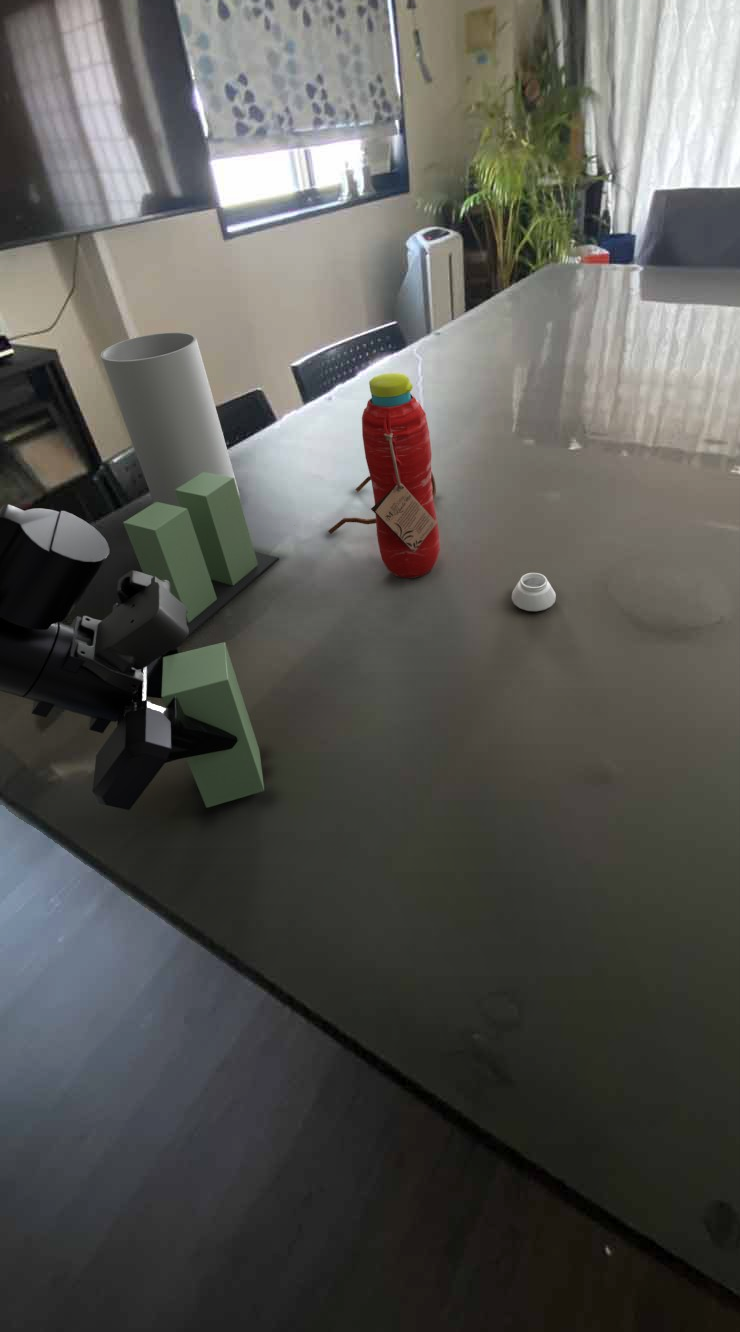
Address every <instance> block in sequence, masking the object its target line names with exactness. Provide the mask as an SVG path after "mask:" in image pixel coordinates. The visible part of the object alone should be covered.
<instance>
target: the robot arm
mask: <svg viewBox="0 0 740 1332" xmlns="http://www.w3.org/2000/svg"><path fill="white" fill-rule="evenodd" d="M110 552H111V551H110V547H109V543H108V542H107V540H106V538H105V537H104V536H103V535H102V534H101V533H100V531H99V530H97V529H96V528H95V527H94V526H93V525H91V524H90V523H89V522H87V521H85V520H84V519H82V518H80V517H78V516H76V515H74V514H73V513H70V512H68V511H66V510H60V511H57V510H54V509H49V508H41V507H40V508H35V507H34V508H29V509H26V510H23V509H21V508H18V507H16V506H14V505H12V504H10V503H5V504H3V505H2V507H1V508H0V692H3V693H7V694H9V695H14V696H16V697H20V698H23V699H26V700H29V701H33V705H32V709H31V714H32V715H35V716H39V717H42V718H47V717H48V716H49V714H50V713H51V711H52V710H53V708H57V709H60V710H61V709H62V710H65V711H69V712H72V713H75V714H78V715H81V716H85V717H89V718H90V719H89V720H90V721H89V729H88V730H89V731H93V732H97V733H100V734H103V733H104V732H105V731H106V730H107V728H108V726H109V725H110V724H111V722H112V723H113V722H114V723H116V727H115V728H114V730H113V731H112V732H111V734H110V735H109V737H107V739H106V741H104V743H103V745H102V746H101V747H100V749H99V751H98V752H97V754H96V755H95V763H94V764H95V765H94V774H93V784H92V793H93V795H94V797H95V798H96V800H97V802H98V804H100V805H103V806H108V807H111V808H117V809H121V810H127V811H130V810H131V809H132V807H133V806H134V805H135V803H136V802H137V801H138V800H139V798H140V797H141V796H142V794H144V791H145V790H146V789H147V788H148V786H149V785H150V783H151V782H152V781H153V780H154V779H155V777H156V776H157V774H158V773H159V772H160V770H162V768H163V766H164V765H165V764H167V763H171V762H174V761H178V760H182V759H186V758H187V757H192V756H197V755H203V754H208V753H213V752H218V751H224V750H229V749H232V748H233V747H234V746H235V744H236V743H237V741H238V739H237V737H236V736H234V735H232V734H230V733H229V732H227V731H225V730H222V729H220V728H217V727H215V726H212V725H210V724H207V723H205V722H202V721H200V720H197V719H195V718H192V717H189V716H187V715H185V714H184V712H183V710H182V708H181V705H180V703H179V701H178V699H177V697H176V696H174V698H173V699H172V700H171V702H170V703H169V704H168V706H167V707H165V706H162V705H158V704H155V703H152V702H151V701H150V700H148V698H153V699H154V698H155V699H161V700H162V697H161V692H162V669H163V657H166V656H170V655H174V654H178V653H182V652H183V650H182V648H181V646H182V645H183V644H184V643H185V641H186V640H187V639H188V638H189V637H188V634H189V628H188V626H187V621H186V614H187V613H188V609H187V607H186V606H185V605H183V604H182V603H181V602H180V601H179V600H178V599H177V598H176V597H174V596H173V595H172V594H171V587H170V582H169V581H167V580H159V579H158V578H157V577H156V576H154V577H153V576H150V575H147V574H144V573H143V572H140V571H137V570H133V569H131V570H130V571H128V572H127V573H125V574H124V575H123V576H121V577H120V578H118V580H117V587H116V588H117V589H116V593H117V596H118V599H119V602H120V603H118V602H116V603H115V604H113V605H112V612H111V613H110V614H109V615H107V616H105V617H104V619H101V620H100V619H96V618H93V617H91V616H88V615H83V616H82V617H81V616H78V615H76V617H75V618H74V619H73V621H72V623H71V624H70V625H68V624H65V623H62V622H64V621H66V619H68V617H69V616H70V615H71V613H72V612H73V610H74V608H75V607H76V605H77V604H78V602H79V600H80V599H81V598H82V596H83V595H84V593H85V591H86V590H87V588H88V587H89V585H90V584H91V583H92V581H93V579H94V578H95V576H96V575H97V573H98V572H99V570H100V568H101V567H102V566H103V564H104V562H105V561H106V560H107V558H108V557H109V555H110Z"/></svg>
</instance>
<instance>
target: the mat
mask: <svg viewBox="0 0 740 1332" xmlns="http://www.w3.org/2000/svg"><path fill="white" fill-rule="evenodd" d="M254 552H255V556H256V560H257V563H258V565H257V566H256V567H255V568H254V569H253V570H251V571H250V572H249V573H248V574H247V575H245V576H244V577H243V578H242V579H241V580H239V581H238V582H237V583H236V584H235V585H229V584H226V583H222V582H218V581H215V580H211V582H212V585H213V588H214V591H215V594H216V597H217V600H215V601H214V602H213V603H212V604H211V605H209V606H208V607H207V608H206V609H205V610H203V611H202V612H201V613H200V614H199V615H197V616H196V617H195V618H194V619H193V620H192V621H190V622H189V623H188V622H187V626H188V628H189V634H188V637H187V638H189V637H190V636H191V635H192V634H193V633H195V632H196V631H197V630H198V629H199V628H200V627H201V626H203V625H204V624H205V623H206V622H207V621H208V620H210V619H211V618H212V617H213V616H214V615H216V614H217V613H218V612H219V611H220V610H222V609H223V608H224V607H225V606H226V605H227V604H229V603H230V602H231V601H232V600H233V599H234V598H236V596H238V595H239V594H240V593H242V591H244V590H245V589H246V588H247V587H248V586H250V585H251V584H252V583H253V582H254V581H256V579H258V578H259V577H260V576H261V575H262V574H264V573H265V572H267V570H268V569H269V568H271V567H272V566H273V565H274V564H275V563H276V562H278V561H279V560H280V558H279V557H278V556H275V555H270V554H266V553H262V552H258V551H254Z"/></svg>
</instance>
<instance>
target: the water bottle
mask: <svg viewBox="0 0 740 1332" xmlns="http://www.w3.org/2000/svg"><path fill="white" fill-rule="evenodd" d="M368 384H369V391H370V394H371V395H370V396H371V398H369V399H368V400H367V404H366V407H364V409H363V412H362V415H361V432H362V434H361V435H362V443H363V450H364V456H365V461H366V465H367V469H368V474H369V476H370V477H371V480H370V482H371V487H372V493H373V498H374V499H373V500H374V505H373V506H372V507H371V508H370V510H371V512H373V513H374V514H375V518H376V523H375V525H376V526H375V527H376V537H377V538H376V539H377V544H378V549H379V553H380V557H381V561H382V562H383V564H384V565H385V566H386V569H387V571H389V572H390V573H392V574H393V575H394V576H396V577H397V578H405V579H413V578H418V577H422V576H424V575H426V574H428V573H429V572H432V569H434V566H435V565H436V562H437V560H438V557H439V554H440V551H441V547H440V531H439V526H438V520H437V515H436V514H437V513H436V508H435V502H434V500H433V495H432V482H431V471H432V447H431V435H430V429H429V425H428V420H427V414H426V412H425V410H424V409H423V407H422V405H421V404H420V403H421V402H420V401H419V400H417V399H416V397H415V395H414V394H413V393H411V392H412V390H413V388H414V386H413V383H411V380H410V378H409V376H408V375H407V374H404V373H401V372H389V373H381V374H379V375H376V376H373V377H372V378H371V379H370V380H369V382H368Z"/></svg>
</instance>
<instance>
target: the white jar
mask: <svg viewBox="0 0 740 1332" xmlns="http://www.w3.org/2000/svg"><path fill="white" fill-rule="evenodd" d="M556 595H557V593H556V592H555V590H554V588H553V587H552V585H551V583H550V581H549V580H548V579H547V577H546V576H545V575H544V574H542V573H539V572H528V573H526V574H523V575H522V576H521V577H520V579H519V581H518V582H517V583H516V584H515V587H514V589H513V590H512V593H511V601H512V603H513V605H514V606H516V607H517V608H519V609H521V610H524V611H527V612H539V611H545V610H548V608H551V607H552V606H553V605H554V604H555V602H556V599H557V598H556Z"/></svg>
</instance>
